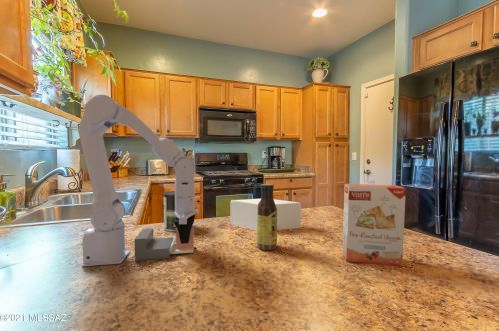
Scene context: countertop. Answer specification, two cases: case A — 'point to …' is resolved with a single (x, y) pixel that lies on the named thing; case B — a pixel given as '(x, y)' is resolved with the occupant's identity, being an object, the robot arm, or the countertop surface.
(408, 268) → the countertop surface
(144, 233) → the dispenser
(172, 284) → the countertop surface
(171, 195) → the coffee can
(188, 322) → the countertop surface
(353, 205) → the cracker box
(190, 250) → the pink and white block
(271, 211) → the sauce bottle
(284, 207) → the white rectangular box
